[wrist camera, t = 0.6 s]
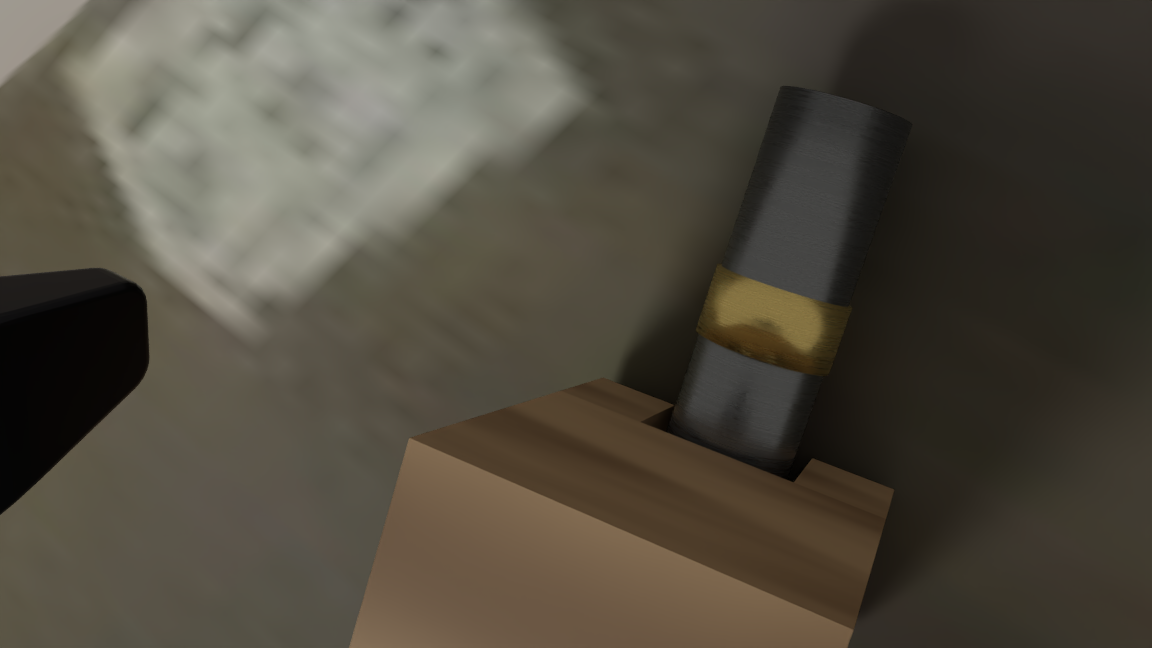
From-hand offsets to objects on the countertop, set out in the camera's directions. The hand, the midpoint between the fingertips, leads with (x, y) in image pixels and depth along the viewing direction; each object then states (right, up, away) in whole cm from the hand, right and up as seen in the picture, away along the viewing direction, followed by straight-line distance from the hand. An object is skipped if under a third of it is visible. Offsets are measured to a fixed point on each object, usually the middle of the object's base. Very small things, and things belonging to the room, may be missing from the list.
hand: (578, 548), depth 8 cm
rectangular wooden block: (+4, -3, +18) cm, 19 cm away
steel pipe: (+4, -1, +18) cm, 18 cm away
